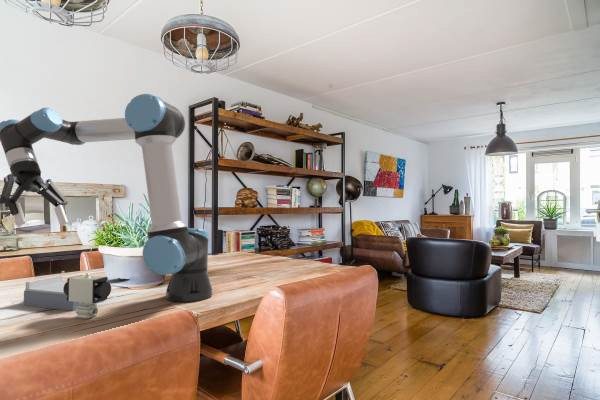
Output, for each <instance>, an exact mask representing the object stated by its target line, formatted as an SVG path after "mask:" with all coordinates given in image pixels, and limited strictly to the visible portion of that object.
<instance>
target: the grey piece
mask: <svg viewBox="0 0 600 400" xmlns="http://www.w3.org/2000/svg"><path fill="white" fill-rule="evenodd" d="M66 282H67V281H63V275H61V274H60V275H59V274H58V275H54V276H49V277H45V278H44V277H43V278H39V279H34V280H30V281H25V288H24V290H23V306H29V307H35V308H36V307H37V308H46V309H55V310H63V311H72V312H74V311H76V309H77V306H78V305H84V304H85V303H80V304H79V302H73V301H67V297H66V296H67V295H66V294H65V293H64V291H63V288H64V285H65V283H66ZM104 301H106V300H103V301H100V302H97V303H93V304H99V303H102V302H104Z"/></svg>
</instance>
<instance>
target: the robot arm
mask: <svg viewBox="0 0 600 400" xmlns="http://www.w3.org/2000/svg"><path fill="white" fill-rule="evenodd" d="M185 128H186V120H185V117H184V115H183V113H182V112H181V111H180V109H178V108H177V107H175V106H173V105H172V104H170V103H168V102H166V101H165V100H163V99H162V98H160V97H159V96H156V95H153V94H150V93H142V94H141V93H140V94H139V95H136V96H134V97H133V98H132V99H131V100H130V101H129V102H128V103H127V105H126V107H125V109H124V117H119V118H118V117H117V118H116V117H115V118H104V119H103V118H102V119H91V120H79V121H77V120H76V121H70V120H69V121H68V120H65V119H62V117H61V115H60V114H59V113H58V112H56V111H54V109H52V108H50V107H42V108H40V109H38V110H35V111H34V112H32V113H30V114H29V115H27V116H26V117H24V118H22V119H21V120H18V119H7V120H2V121H0V143H1V147H2V149H3V152H4V155H5V159H6V162H7V164H8V167H9V170H10V173H9V174H7V175H6V176H5V177H3V183H4V184H3V186H2V191H1V194H0V204H3V205H4V206H5V207H6V208H9V212H10V214H11V215H12V216H13V217H14V220H15V222H16V226H17V227H20V226H23V225H24V224H25V223H27V220H26V217H25V214H24V211H23V208H22V204H21V202H18V200H19V199H20V197H21V195H22V194H23V193H24V191H25V192H27V193H28V192H29V193H30V192H31V193H36V194H38V195H41V196H42V197H43V198H44V199H45V200H47V201H48V202H49V203H50V204H52V205H53V210H54V212H55V215H56V217H57V221H58V223H59V226H60V227H63V226H65V225H66V224H67V223H69V220H68V218H67V216H66V215H67V211H66V208H65V206H66V205H68V204H69V201H68V199H66V198H65V196H64V195H63V194H62V192H61V191H60V190H59V189H58V188H57V187H56V185H55V184H54V183H53V180H52V179H51V178H48V179H43V178H42V176H41V175H42V170H41V168H40V165H39V162H38V159H37V157H36V154H35V152H34V148H33V145H34V144H35V143H37V142H39V141H41V140H43V139H49V140H51V141H56V142H62V143H65V144H69V145H73V146H75V145H76V146H83V145H84V144H86V143H92V142H93V143H96V142H112V141H113V142H114V141H126V140H127V141H128V140H135V143H136V144H137V145H138V146H140V147H141V150H142V159H143V160H142V161H143V165H144V173H145V174H144V175H145V182H146V183H145V184H146V190H147V198H148V205H149V206H148V207H149V213H150V220H151V226H150V227H149V229H148V230H147V231H146V233H147V239H148V240H147V241H146V243H145V244H144V246H143V248H142V259H143V262H144V264H145V265H146V267H147V268H148V269H149V270H150V271H151V272H153V273H155V274H156V275H162V276H163V275H164V276H167V275H171V276H170V278H169V281H168V284H167V288H166V291H165V298H166V300H168V301H172V302H180V303H181V302H182V303H183V302H196V301H197V302H198V301H203V300H206V299H209V298H211V297H212V296H213V287H212V283H211V280H210V277H209V273H208V266H209V265H208V264H209V263H208V259H209V257H208V255H209V234H208V231H207V230H206V229H203V228H193V227H192V228H191V227H188V225H187V224H186V223H184V222H183V221H182V215H181V214H182V213H181V207H180V201H179V200H180V199H179V198H180V197H179V192H178V185H177V177H176V169H175V162H174V161H175V160H174V152H173V146H172V145H173V144H174V143H175V142H176V140H177V139H178V138H179V137H181V136H182V134H184V131H185ZM14 183H15V184H16V185H17V188H16V189H15V190H14V192H13V194H12V191H13V187H14ZM11 194H12V195H11Z"/></svg>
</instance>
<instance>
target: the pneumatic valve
mask: <svg viewBox="0 0 600 400" xmlns="http://www.w3.org/2000/svg"><path fill="white" fill-rule="evenodd" d="M65 282H66V283H65V285H64V288H63V291H64V293H65V294H66V295H67V296H66V297H67V301H73V302H79V304H80V303H85V304H84V305H78V306H77V309H76V310H75V313H76V318H77V319H82V320H83V319H84V320H89V319H90V318H93V317H96V316H97V315H98V312H99V308H98V303H97V302H99V303H101V302H100V301H102V302H104V301H103V300H105V301H106V300H107V299H108V297H109V296H110V294H111V292H112V286H111V283H110V282H109V278H108V276H100V275H97V276H95V275H91V273H89V272H88V273H85V275H83V274H82V275H81V274H80V275H76V276H70V277H67V279H66V281H65ZM93 303H96V304H93Z"/></svg>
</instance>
